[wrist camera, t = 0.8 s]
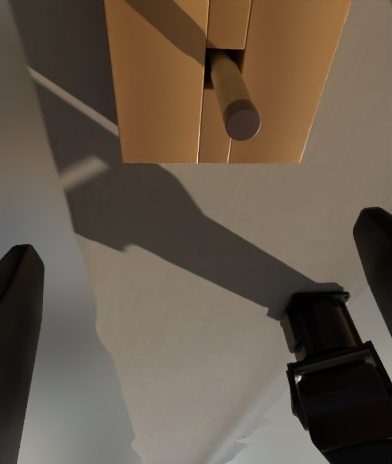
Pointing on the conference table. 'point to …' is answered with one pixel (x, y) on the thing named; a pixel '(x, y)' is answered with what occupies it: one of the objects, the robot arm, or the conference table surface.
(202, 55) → the stand
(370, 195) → the conference table surface
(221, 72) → the tan brown rod
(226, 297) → the conference table surface
